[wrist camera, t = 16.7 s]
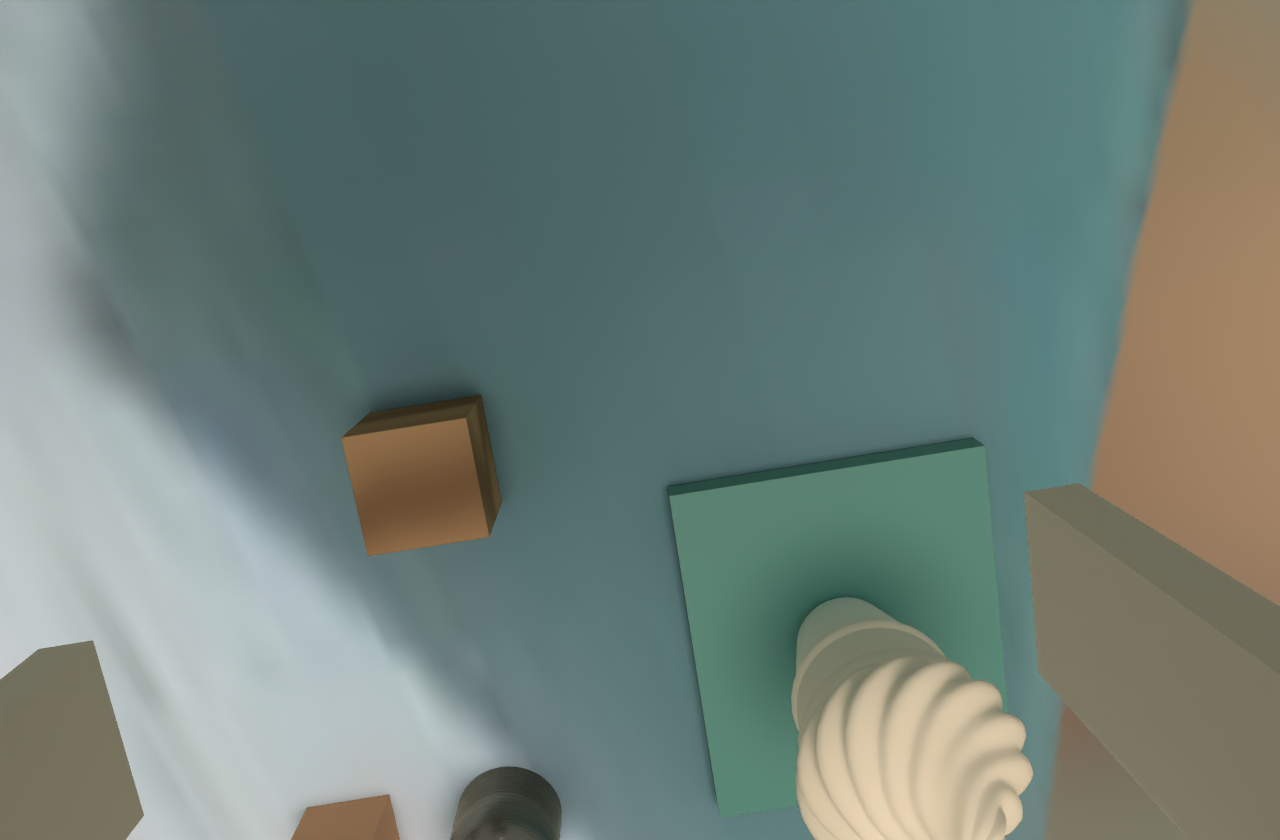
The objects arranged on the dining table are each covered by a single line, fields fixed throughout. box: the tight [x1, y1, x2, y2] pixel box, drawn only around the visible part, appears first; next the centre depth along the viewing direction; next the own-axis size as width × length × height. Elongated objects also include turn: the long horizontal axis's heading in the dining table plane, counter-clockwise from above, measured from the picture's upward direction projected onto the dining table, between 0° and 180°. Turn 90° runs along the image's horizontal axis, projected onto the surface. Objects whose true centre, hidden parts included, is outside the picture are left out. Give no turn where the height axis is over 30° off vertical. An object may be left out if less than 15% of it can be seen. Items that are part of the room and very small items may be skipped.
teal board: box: [667, 438, 1009, 818], centre depth 48 cm, size 16×14×2 cm
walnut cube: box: [342, 395, 502, 556], centre depth 44 cm, size 5×5×5 cm
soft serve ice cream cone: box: [791, 597, 1033, 840], centre depth 39 cm, size 8×8×16 cm
